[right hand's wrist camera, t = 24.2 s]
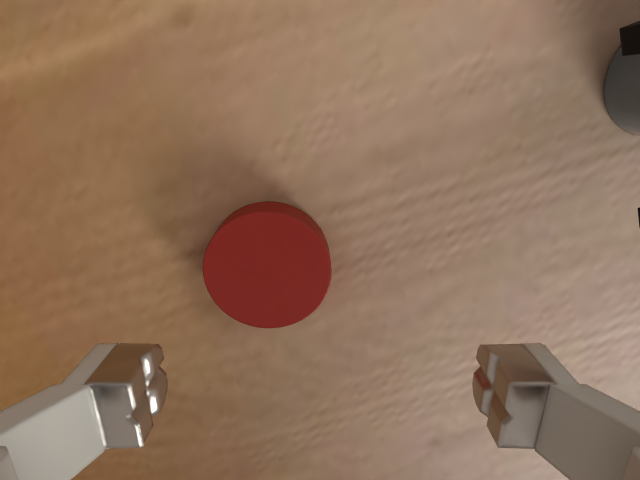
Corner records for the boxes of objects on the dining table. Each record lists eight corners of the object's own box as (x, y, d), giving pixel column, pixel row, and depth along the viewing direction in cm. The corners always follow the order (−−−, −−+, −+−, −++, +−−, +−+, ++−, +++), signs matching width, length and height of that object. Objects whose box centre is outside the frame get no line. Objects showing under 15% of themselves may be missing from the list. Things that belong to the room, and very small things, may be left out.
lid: (266, 330, 21) (262, 349, 19) (186, 251, 19) (175, 266, 18) (353, 265, 20) (357, 280, 18) (275, 176, 18) (272, 184, 16)
